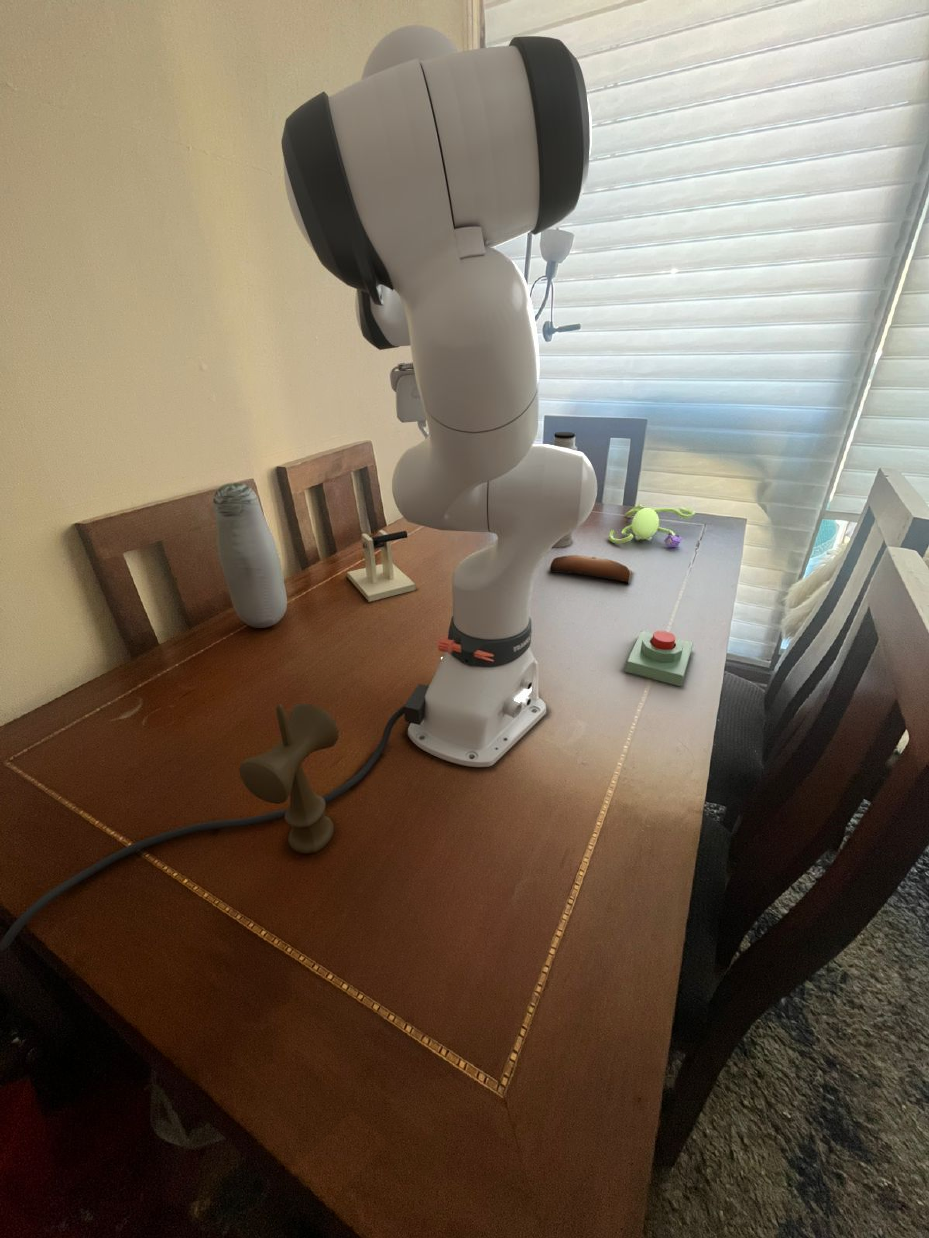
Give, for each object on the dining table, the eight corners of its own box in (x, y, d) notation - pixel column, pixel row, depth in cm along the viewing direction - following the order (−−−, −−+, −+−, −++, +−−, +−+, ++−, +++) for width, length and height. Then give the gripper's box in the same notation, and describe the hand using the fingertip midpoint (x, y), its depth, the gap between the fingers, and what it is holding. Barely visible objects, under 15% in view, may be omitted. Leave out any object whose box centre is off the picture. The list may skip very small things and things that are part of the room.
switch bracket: (415, 589, 115) (412, 540, 109) (369, 602, 110) (362, 550, 104) (391, 567, 125) (387, 521, 120) (348, 577, 121) (341, 530, 115)
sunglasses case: (632, 569, 121) (634, 551, 116) (627, 593, 118) (629, 577, 113) (557, 558, 127) (556, 541, 122) (550, 581, 124) (548, 565, 119)
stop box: (680, 686, 84) (685, 666, 82) (625, 671, 87) (628, 652, 85) (690, 653, 92) (695, 634, 90) (639, 640, 96) (642, 622, 94)
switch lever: (408, 539, 104) (405, 527, 103) (380, 545, 101) (377, 533, 101) (388, 546, 116) (386, 535, 115) (363, 551, 113) (360, 540, 113)
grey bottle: (236, 618, 105) (197, 481, 91) (287, 606, 109) (258, 474, 95) (242, 641, 97) (201, 496, 83) (296, 627, 101) (267, 487, 87)
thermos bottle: (551, 549, 134) (560, 437, 120) (535, 539, 140) (541, 431, 126) (577, 544, 137) (588, 434, 122) (560, 534, 143) (568, 428, 129)
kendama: (356, 812, 63) (332, 682, 53) (309, 881, 56) (271, 745, 45) (314, 798, 65) (284, 670, 55) (264, 864, 57) (218, 729, 47)
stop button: (671, 652, 86) (673, 644, 85) (649, 647, 87) (651, 638, 86) (675, 642, 88) (677, 633, 88) (653, 637, 90) (655, 628, 89)
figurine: (694, 523, 149) (698, 505, 146) (677, 556, 129) (681, 535, 126) (629, 514, 156) (632, 496, 154) (604, 543, 136) (606, 523, 134)
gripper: (388, 367, 83) (399, 453, 91) (512, 356, 85) (513, 441, 93) (387, 361, 88) (398, 443, 96) (504, 351, 90) (505, 433, 98)
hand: (455, 442), depth 94 cm, fingers open, 8 cm apart
